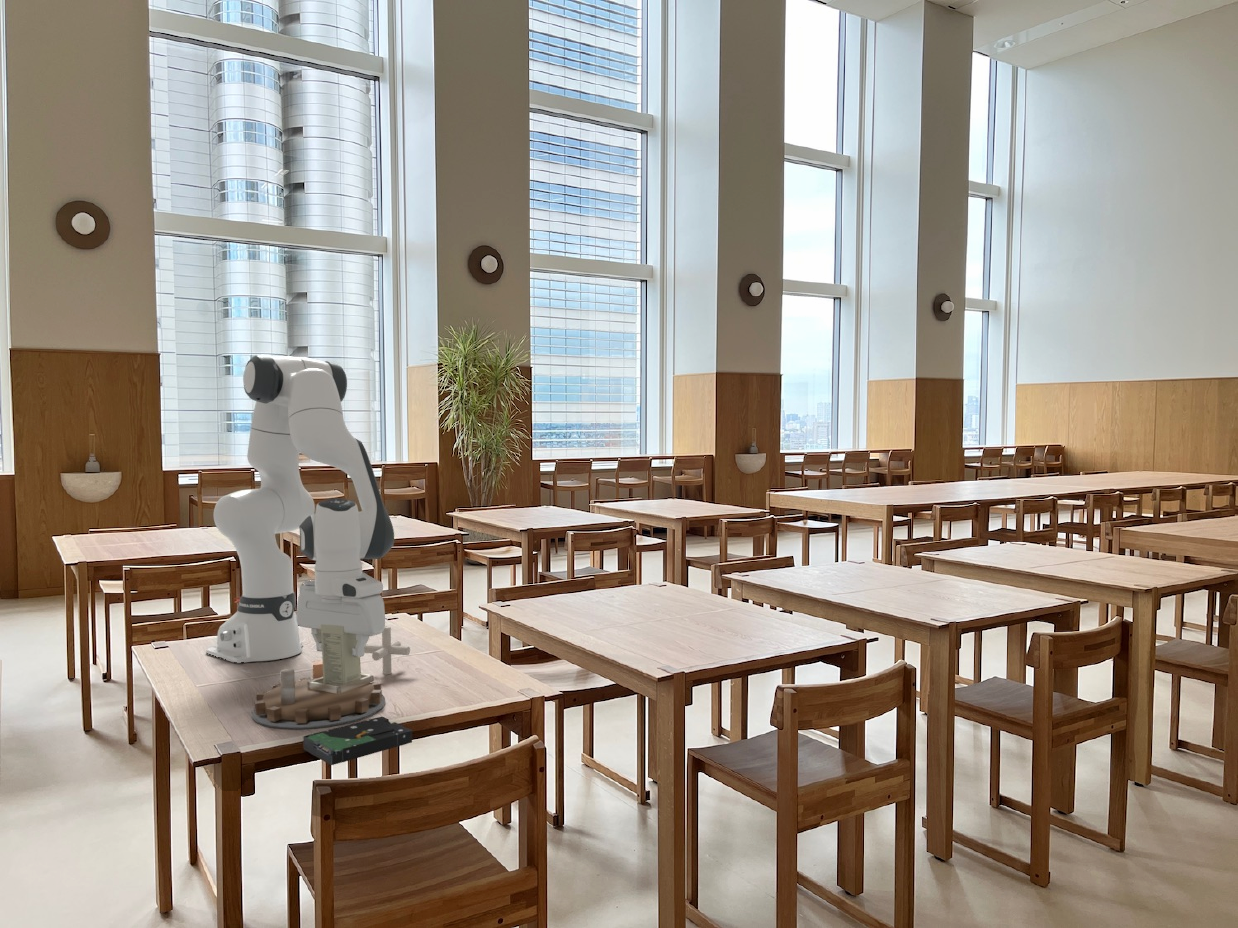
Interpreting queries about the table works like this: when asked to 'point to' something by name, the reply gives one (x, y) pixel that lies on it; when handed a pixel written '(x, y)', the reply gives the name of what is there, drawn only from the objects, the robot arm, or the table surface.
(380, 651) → the pipe connector
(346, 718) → the dial base
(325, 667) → the skincare box
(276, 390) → the robot arm
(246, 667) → the table surface
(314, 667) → the orange rectangular block
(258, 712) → the dial
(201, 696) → the table surface
